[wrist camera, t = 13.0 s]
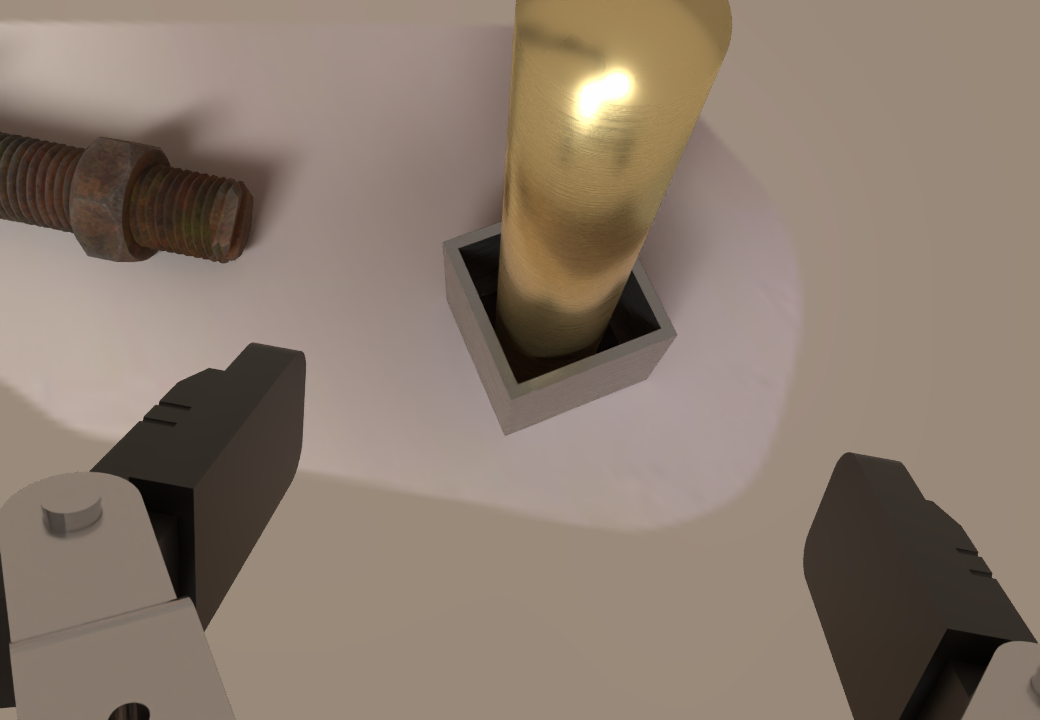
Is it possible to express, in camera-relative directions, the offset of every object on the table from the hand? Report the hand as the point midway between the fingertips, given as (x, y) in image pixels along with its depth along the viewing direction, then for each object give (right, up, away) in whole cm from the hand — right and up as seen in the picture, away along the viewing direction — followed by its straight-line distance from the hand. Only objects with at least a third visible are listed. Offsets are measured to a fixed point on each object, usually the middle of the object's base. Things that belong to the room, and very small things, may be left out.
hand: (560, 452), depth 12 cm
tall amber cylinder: (0, +2, +20) cm, 20 cm away
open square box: (0, +2, +20) cm, 20 cm away
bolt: (-19, +7, +21) cm, 29 cm away
